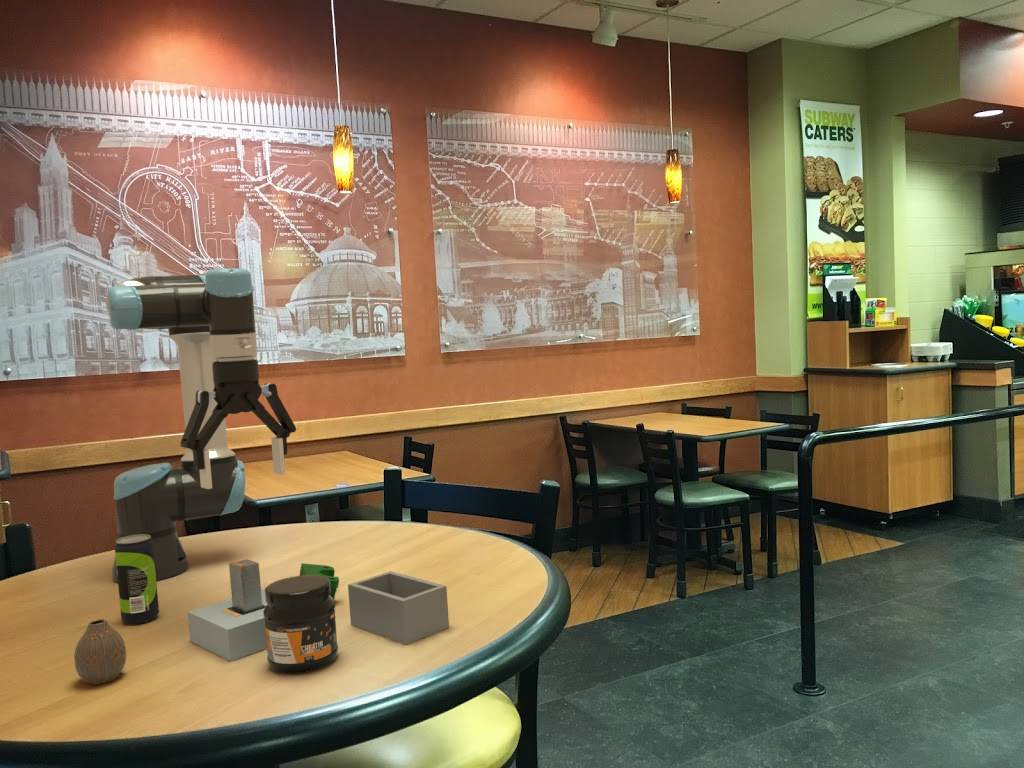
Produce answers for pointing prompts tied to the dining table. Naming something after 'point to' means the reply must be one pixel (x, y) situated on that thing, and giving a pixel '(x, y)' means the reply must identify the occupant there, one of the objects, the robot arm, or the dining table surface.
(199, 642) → the plate
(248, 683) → the dining table surface
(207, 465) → the robot arm
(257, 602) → the brushed metal block
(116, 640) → the vase
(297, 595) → the supplement container
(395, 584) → the gray hollow rectangular box
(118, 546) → the beverage can
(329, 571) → the green mounting bracket
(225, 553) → the dining table surface
